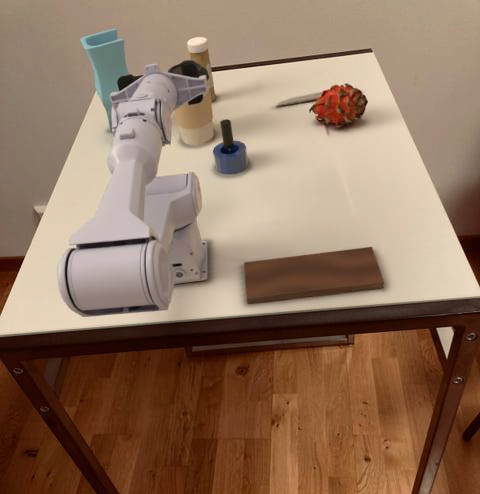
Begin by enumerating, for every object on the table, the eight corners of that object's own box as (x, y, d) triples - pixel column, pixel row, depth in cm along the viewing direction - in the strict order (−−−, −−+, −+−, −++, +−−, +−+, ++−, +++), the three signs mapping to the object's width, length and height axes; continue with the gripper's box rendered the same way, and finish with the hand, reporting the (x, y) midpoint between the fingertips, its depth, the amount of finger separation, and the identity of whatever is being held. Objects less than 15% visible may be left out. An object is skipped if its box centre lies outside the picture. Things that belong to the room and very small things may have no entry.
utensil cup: (249, 173, 99) (247, 155, 96) (216, 178, 99) (212, 160, 96) (247, 156, 103) (245, 138, 100) (215, 160, 103) (212, 142, 100)
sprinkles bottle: (194, 103, 122) (183, 44, 112) (202, 95, 124) (191, 36, 115) (212, 104, 120) (202, 44, 110) (219, 95, 123) (210, 36, 113)
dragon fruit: (371, 129, 107) (314, 141, 110) (367, 91, 108) (310, 104, 111) (370, 110, 99) (308, 123, 102) (365, 69, 100) (304, 83, 103)
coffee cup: (213, 149, 107) (200, 76, 95) (172, 149, 109) (155, 78, 97) (222, 127, 112) (211, 56, 101) (184, 128, 114) (169, 58, 103)
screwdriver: (236, 161, 101) (230, 118, 95) (237, 167, 100) (230, 124, 93) (226, 162, 101) (219, 119, 95) (227, 168, 100) (220, 125, 93)
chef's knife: (272, 102, 118) (274, 107, 115) (272, 97, 117) (274, 102, 115) (354, 88, 117) (358, 93, 115) (355, 83, 116) (358, 88, 114)
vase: (150, 134, 114) (124, 39, 99) (116, 145, 113) (85, 50, 98) (141, 120, 119) (116, 28, 105) (109, 130, 118) (78, 38, 103)
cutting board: (383, 287, 74) (384, 282, 73) (247, 303, 75) (246, 298, 74) (371, 252, 80) (371, 246, 79) (244, 267, 81) (243, 262, 80)
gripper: (197, 63, 68) (205, 42, 78) (94, 82, 70) (115, 59, 80) (208, 116, 72) (214, 89, 83) (111, 133, 74) (129, 105, 85)
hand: (166, 77), depth 82 cm, fingers open, 7 cm apart
